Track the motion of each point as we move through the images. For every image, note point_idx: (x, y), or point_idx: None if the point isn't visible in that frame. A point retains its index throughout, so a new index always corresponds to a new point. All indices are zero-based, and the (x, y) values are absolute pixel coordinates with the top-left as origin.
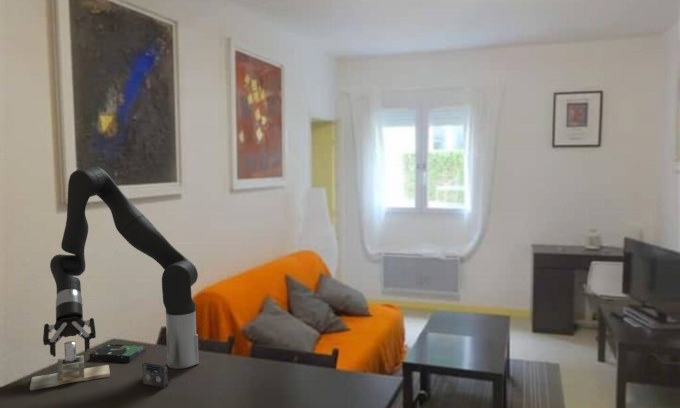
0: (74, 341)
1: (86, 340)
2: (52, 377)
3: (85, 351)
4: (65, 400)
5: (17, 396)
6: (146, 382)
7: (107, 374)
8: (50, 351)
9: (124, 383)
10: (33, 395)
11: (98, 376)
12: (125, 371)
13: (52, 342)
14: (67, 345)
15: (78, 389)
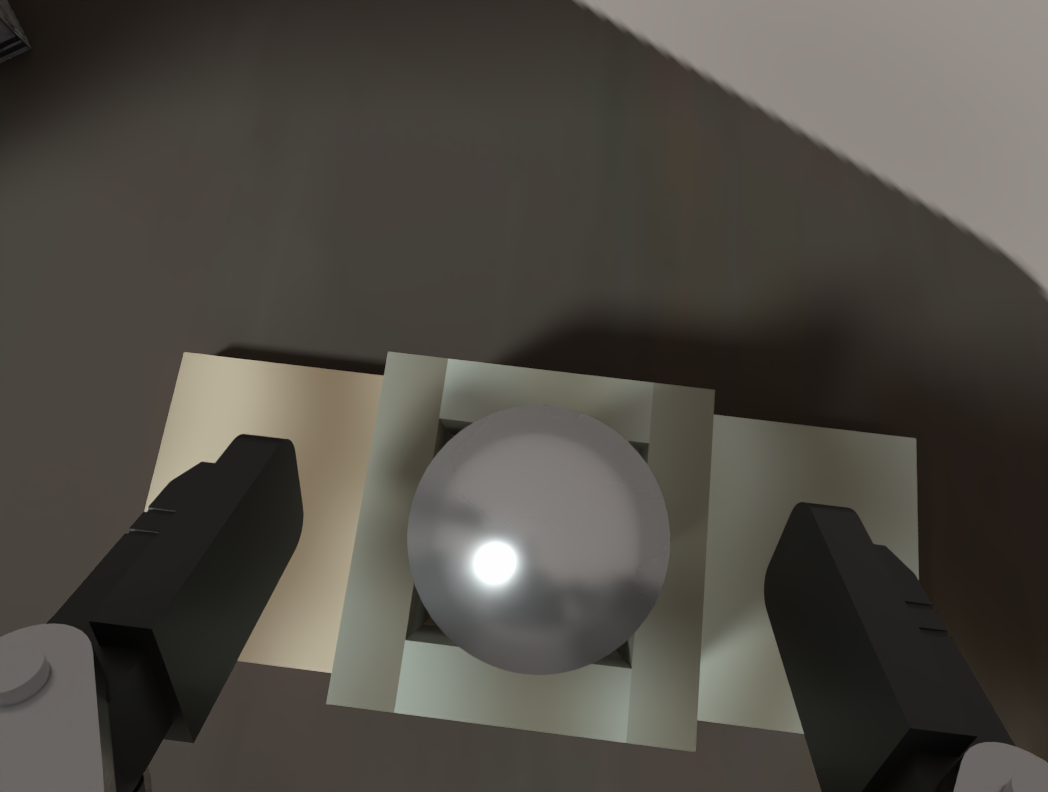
0: (422, 590)
1: (148, 555)
2: (712, 592)
3: (292, 503)
4: (621, 61)
5: (985, 361)
6: (6, 8)
7: (212, 355)
8: (905, 569)
9: (152, 128)
10: (856, 304)
11: (297, 367)
12: (37, 411)
13: (981, 757)
14: (602, 429)
15: (506, 218)
